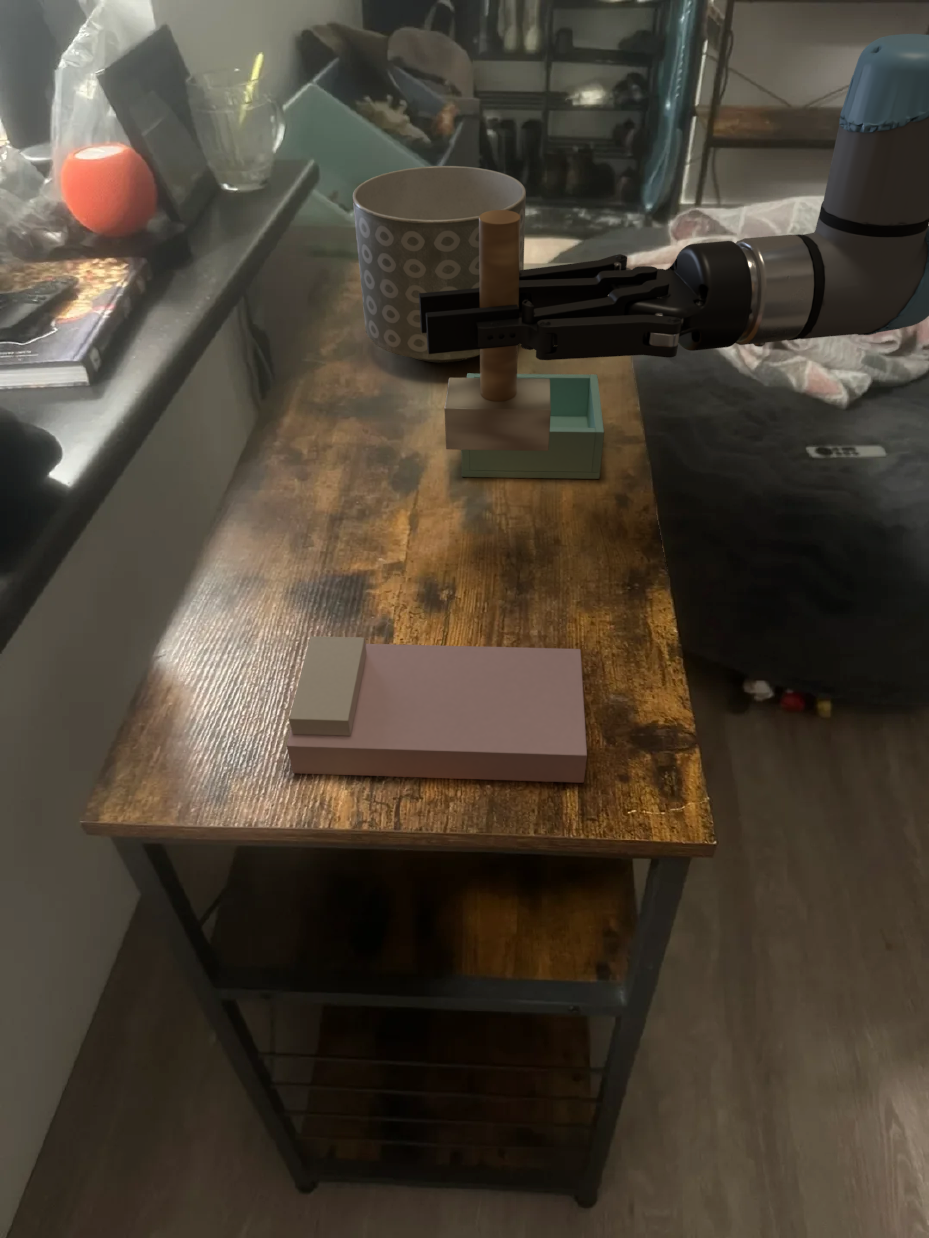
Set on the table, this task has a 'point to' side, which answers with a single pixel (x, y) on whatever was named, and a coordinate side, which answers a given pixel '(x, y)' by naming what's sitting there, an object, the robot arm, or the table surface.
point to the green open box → (553, 436)
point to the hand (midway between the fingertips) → (424, 323)
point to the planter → (423, 245)
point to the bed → (439, 712)
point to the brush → (498, 361)
